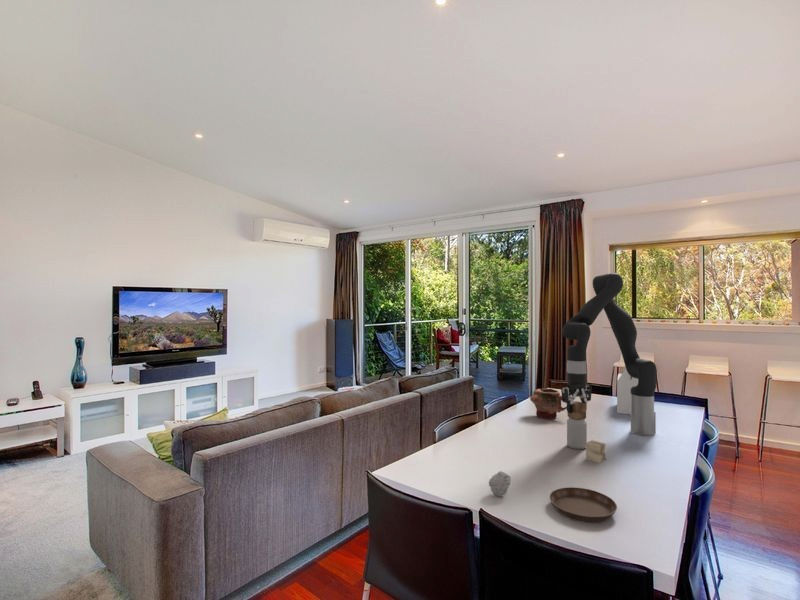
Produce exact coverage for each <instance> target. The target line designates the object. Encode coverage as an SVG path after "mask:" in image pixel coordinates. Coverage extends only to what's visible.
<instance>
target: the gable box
mask: <svg viewBox="0 0 800 600" xmlns="http://www.w3.org/2000/svg"><path fill="white" fill-rule="evenodd" d="M637 385H638V379H637V378H633V377H631V376H630V375H629V374H628V372H627V370H626V367H625V366H624V367H623V368H622V370H620V372H618V374H617V379H616V413H617V414H626V415H631V387H634V386H637Z"/></svg>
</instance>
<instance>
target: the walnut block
mask: <svg viewBox="0 0 800 600" xmlns="http://www.w3.org/2000/svg"><path fill="white" fill-rule="evenodd" d="M572 405H573V413H571V414H570V413H568V412H567V411H566V412H567V413H566V414H567V417H568V418H569V417H570V418H573V419H576V420H577V419H585V420H586V419H587V409H586V403H582V401H578V400H573V403H572Z"/></svg>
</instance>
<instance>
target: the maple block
mask: <svg viewBox="0 0 800 600" xmlns="http://www.w3.org/2000/svg"><path fill="white" fill-rule="evenodd" d="M606 446H607V445H606V443H605V442H601V441H597V440H594V439H592V440H590V441H587V443H586V447H585V459H587V460H590V461H593V462H597V463H601V462H603V461H605V460H607V459H606V452H607V451H606V449H607V448H606Z"/></svg>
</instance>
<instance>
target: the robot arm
mask: <svg viewBox="0 0 800 600" xmlns="http://www.w3.org/2000/svg"><path fill="white" fill-rule="evenodd" d="M623 287H624V280H623V278H622V276H621V275H620V274H619V273H616V272H611V273H605V274H600V275H597V276H594V277H593V279H592V288H593V291H594V294H595V296H593V297H592V298H590V299H589V300H588V301H587V302H586V303H584V304H583V305H582V307H581V308H580V310H579V311H578V312H577V314H575V315H574V316H572V317H571V318H570V319H568V321H566V322H565V324H564V325H563V328H562V335H563V337H564V338H565V339H568V340H571V341H572V340H575V341H576V344H574V345H569V346H568V347H567V350H566V351H567V355H566V356H567V361H566V382H567V387H561V390H560V391H561V393H560V394H561V396H562V401H561V403H565V404H566V406H567V409H566V412H568V413H570V414H571V413H573V405H572V403H573V401H575V400H576V398H577V397H578V398H579V399H580V402H582V403H586V410H587V407H588V405H587V403H588V402H590V401H591V400H592V390H593V387H592V386H591V385H588V384H587V381H588V380H587V377H588V376H587V373H588V372H587V352H586V351H587V348H588V344H589V341H590V337H591V334H592V333H591V328H590V326H591V325H593V324H594V323H595V320H596V319H597V318H598V316H599V315H600V313H601V312H602V311H603V310H604V312H605V315H606V318H607V320H608V321H609V325H610V329H611V330H612V333H613V335H614V337H615V339H616V342H617V345H618V348H619V350H620V352H621V355H622V359H623V363H624V367H626V370H627V372H628V374H629V375H630V376H631V377H633V378H637V379H638V385H637V386H634V387H631V414H630V432H631V433H632V434H636V435H640V436H646V437H647V436H654V435H655V434H656V431H657V429H656V428H657V426H656V425H657V424H656V423H657V419H656V418H657V416H656V412H655V391H656V389H657V378H658V369H657V366H656V364H655V363H654V361H652V360H649V359H645V358H641V357H640V356H639V353H638V351H637V348H636V341H637V338H638V336H637V335H638V331H637V328H636V325H635V322H634V320H633V318H632V316H631V315H630V314H629V313H628V312H627V311H626V310H625V309H623V308H622V307H621V306H619V305H618V304H617V303H616V301H615V300H614V298H615V297H617V295H618V294H620V292H621V291H622V290H623Z"/></svg>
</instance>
